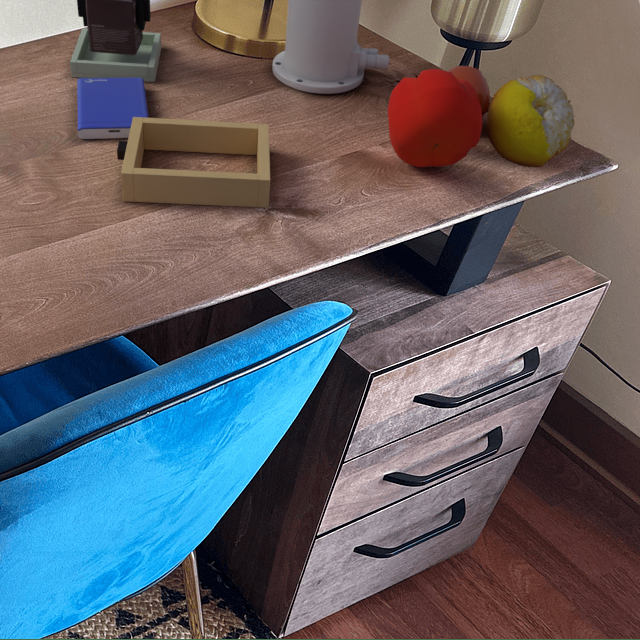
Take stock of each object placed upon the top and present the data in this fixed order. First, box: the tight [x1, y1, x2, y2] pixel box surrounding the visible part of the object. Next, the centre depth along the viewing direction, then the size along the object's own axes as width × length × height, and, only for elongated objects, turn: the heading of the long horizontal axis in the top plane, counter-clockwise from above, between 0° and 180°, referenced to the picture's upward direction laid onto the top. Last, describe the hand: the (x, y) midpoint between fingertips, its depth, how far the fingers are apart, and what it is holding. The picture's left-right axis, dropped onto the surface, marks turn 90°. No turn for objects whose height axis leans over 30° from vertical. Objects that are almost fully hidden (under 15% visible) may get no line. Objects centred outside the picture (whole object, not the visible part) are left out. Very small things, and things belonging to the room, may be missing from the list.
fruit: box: [485, 74, 576, 168], centre depth 99 cm, size 11×10×8 cm
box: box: [85, 0, 144, 56], centre depth 108 cm, size 6×6×7 cm
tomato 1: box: [387, 68, 483, 168], centre depth 95 cm, size 11×12×9 cm
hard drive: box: [76, 78, 149, 140], centre depth 101 cm, size 2×8×12 cm
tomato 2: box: [447, 65, 491, 118], centre depth 106 cm, size 7×7×8 cm
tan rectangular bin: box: [116, 117, 271, 209], centre depth 92 cm, size 16×12×4 cm
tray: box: [69, 27, 162, 83], centre depth 111 cm, size 11×11×2 cm
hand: (115, 23), depth 108 cm, fingers closed on box, 6 cm apart
